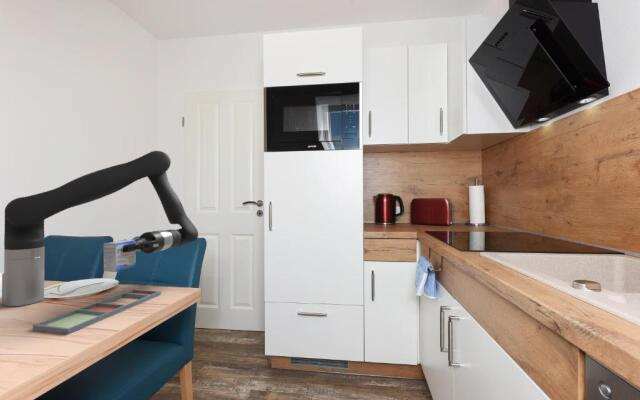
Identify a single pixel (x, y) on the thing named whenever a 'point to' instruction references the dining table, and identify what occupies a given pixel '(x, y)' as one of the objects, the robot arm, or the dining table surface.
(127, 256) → the medicine box
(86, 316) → the pad
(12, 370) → the dining table surface
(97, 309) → the tray
